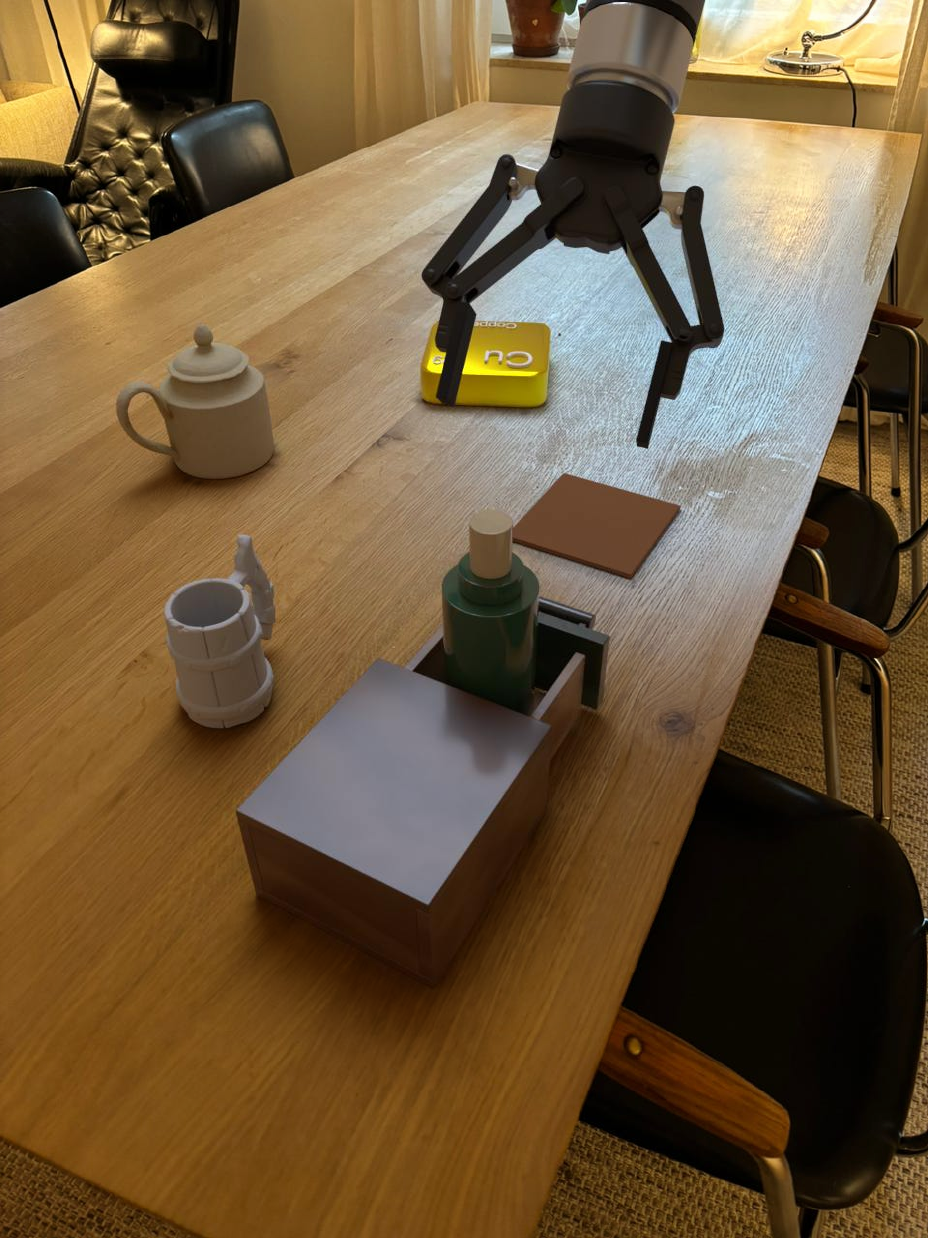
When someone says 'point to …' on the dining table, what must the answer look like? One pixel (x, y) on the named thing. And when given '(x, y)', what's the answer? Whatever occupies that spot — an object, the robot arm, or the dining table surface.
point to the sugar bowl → (208, 411)
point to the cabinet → (398, 816)
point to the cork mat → (595, 524)
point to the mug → (223, 643)
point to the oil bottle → (491, 617)
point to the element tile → (495, 365)
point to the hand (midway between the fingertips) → (541, 423)
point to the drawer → (549, 665)
